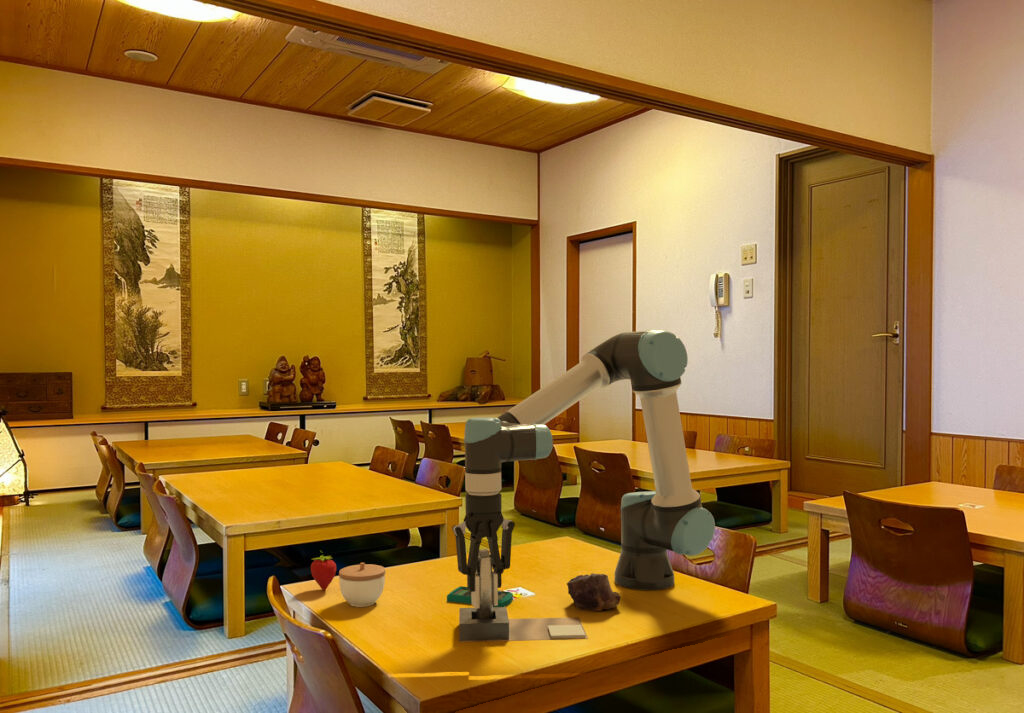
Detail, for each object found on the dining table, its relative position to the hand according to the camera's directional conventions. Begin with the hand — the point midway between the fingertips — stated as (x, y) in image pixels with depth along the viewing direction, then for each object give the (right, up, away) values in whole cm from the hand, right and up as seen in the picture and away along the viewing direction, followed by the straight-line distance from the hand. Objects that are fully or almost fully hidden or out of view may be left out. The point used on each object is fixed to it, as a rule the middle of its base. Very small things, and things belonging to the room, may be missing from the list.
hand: (484, 604), depth 159 cm
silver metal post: (0, -4, 0) cm, 4 cm away
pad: (+17, -5, -1) cm, 18 cm away
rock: (+24, -6, +16) cm, 29 cm away
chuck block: (0, -5, 0) cm, 5 cm away
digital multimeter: (-2, -7, +21) cm, 22 cm away
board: (+8, -6, +1) cm, 10 cm away
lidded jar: (-30, -7, +21) cm, 37 cm away
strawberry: (-41, -7, +31) cm, 52 cm away
